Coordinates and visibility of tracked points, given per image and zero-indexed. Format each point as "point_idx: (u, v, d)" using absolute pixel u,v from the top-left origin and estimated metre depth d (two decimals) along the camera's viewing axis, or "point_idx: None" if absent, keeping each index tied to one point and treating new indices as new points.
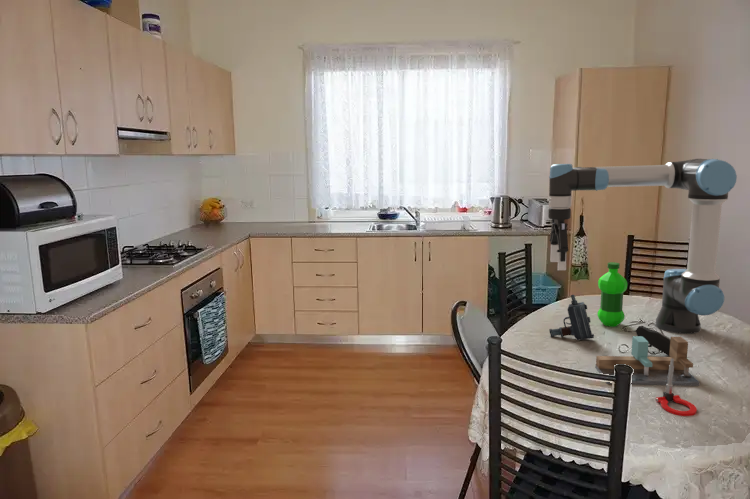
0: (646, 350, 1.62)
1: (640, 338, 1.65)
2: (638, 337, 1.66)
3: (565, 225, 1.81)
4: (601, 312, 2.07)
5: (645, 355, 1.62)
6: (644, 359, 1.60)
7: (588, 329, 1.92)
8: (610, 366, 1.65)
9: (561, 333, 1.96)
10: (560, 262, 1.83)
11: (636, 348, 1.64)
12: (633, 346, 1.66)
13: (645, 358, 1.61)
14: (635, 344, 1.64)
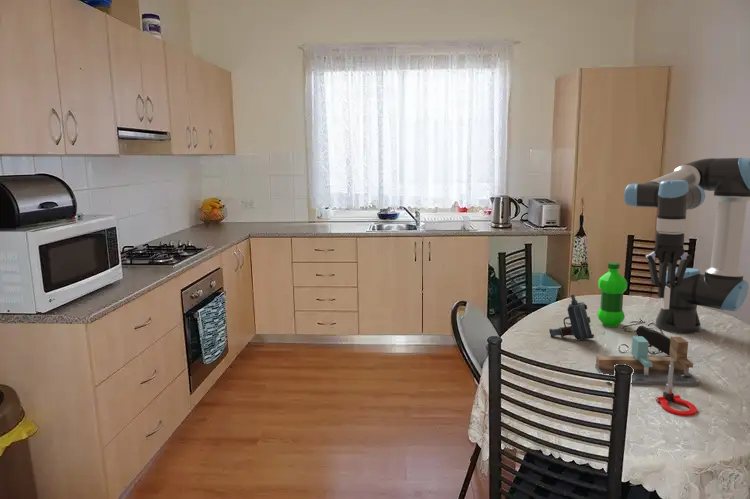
0: (646, 350, 1.62)
1: (640, 338, 1.65)
2: (638, 337, 1.66)
3: (647, 258, 1.59)
4: (601, 312, 2.07)
5: (645, 355, 1.62)
6: (644, 359, 1.60)
7: (588, 329, 1.92)
8: (610, 366, 1.65)
9: (561, 333, 1.96)
10: (661, 298, 1.62)
11: (636, 348, 1.64)
12: (633, 346, 1.66)
13: (645, 358, 1.61)
14: (635, 344, 1.64)
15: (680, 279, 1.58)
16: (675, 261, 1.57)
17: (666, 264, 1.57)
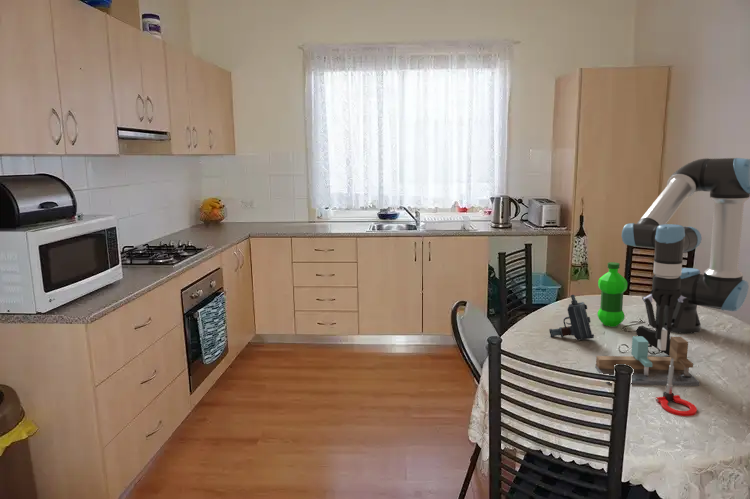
0: (646, 350, 1.62)
1: (640, 338, 1.65)
2: (638, 337, 1.66)
3: (644, 301, 1.61)
4: (601, 312, 2.07)
5: (645, 355, 1.62)
6: (644, 359, 1.60)
7: (588, 329, 1.92)
8: (610, 366, 1.65)
9: (561, 333, 1.96)
10: (658, 339, 1.64)
11: (636, 348, 1.64)
12: (633, 346, 1.66)
13: (645, 358, 1.61)
14: (635, 344, 1.64)
15: (677, 321, 1.61)
16: (672, 304, 1.59)
17: (663, 307, 1.60)
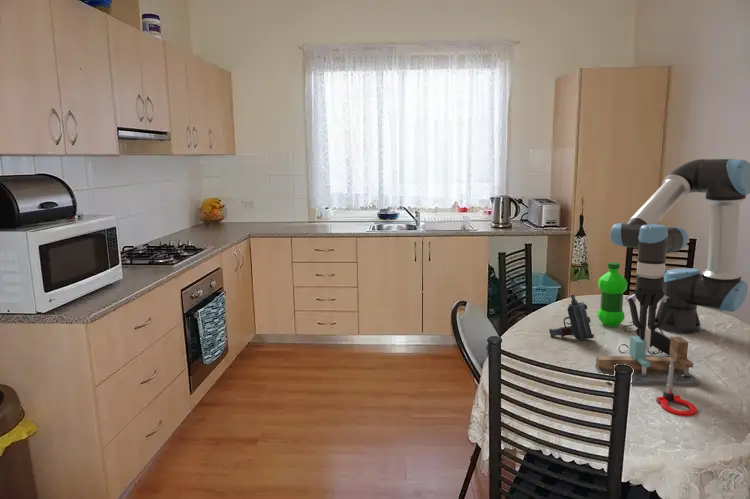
0: (644, 350, 1.62)
1: (638, 338, 1.65)
2: (636, 337, 1.66)
3: (628, 301, 1.62)
4: (601, 312, 2.07)
5: (643, 355, 1.63)
6: (642, 359, 1.61)
7: (588, 329, 1.92)
8: (610, 366, 1.65)
9: (561, 333, 1.96)
10: None
11: (634, 348, 1.64)
12: (631, 346, 1.66)
13: (643, 358, 1.61)
14: (633, 344, 1.64)
15: (660, 321, 1.61)
16: (655, 304, 1.60)
17: (646, 307, 1.60)
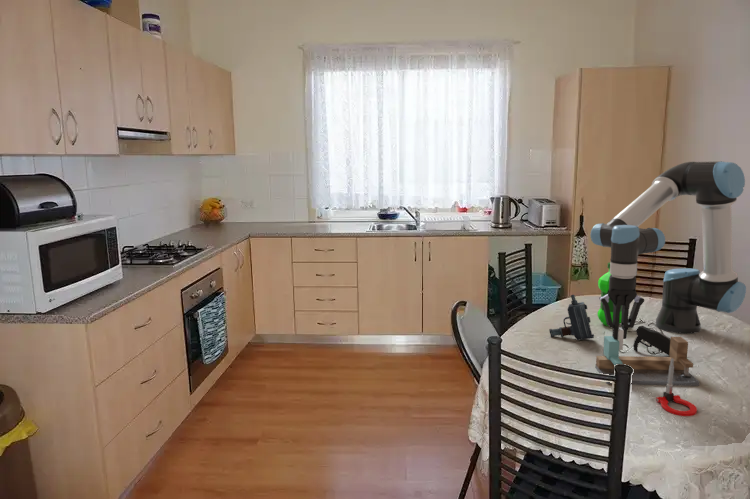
0: (617, 350, 1.63)
1: (612, 337, 1.66)
2: (610, 337, 1.67)
3: (601, 301, 1.63)
4: (601, 312, 2.07)
5: (616, 355, 1.63)
6: (615, 359, 1.61)
7: (588, 329, 1.92)
8: (610, 366, 1.65)
9: (561, 333, 1.96)
10: None
11: (607, 348, 1.65)
12: (605, 346, 1.67)
13: (616, 358, 1.62)
14: (606, 343, 1.65)
15: (633, 321, 1.62)
16: (628, 304, 1.61)
17: (619, 307, 1.61)
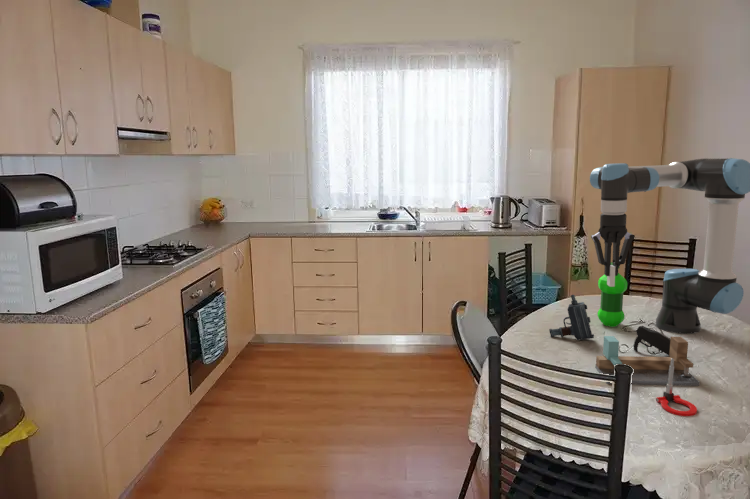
0: (617, 350, 1.63)
1: (612, 337, 1.66)
2: (609, 337, 1.67)
3: (593, 238, 1.67)
4: (601, 312, 2.07)
5: (616, 355, 1.64)
6: (614, 359, 1.61)
7: (588, 329, 1.92)
8: (610, 366, 1.65)
9: (561, 333, 1.96)
10: (608, 276, 1.70)
11: (607, 348, 1.65)
12: (604, 346, 1.67)
13: (615, 358, 1.62)
14: (606, 343, 1.65)
15: (624, 257, 1.67)
16: (619, 240, 1.65)
17: (610, 243, 1.66)
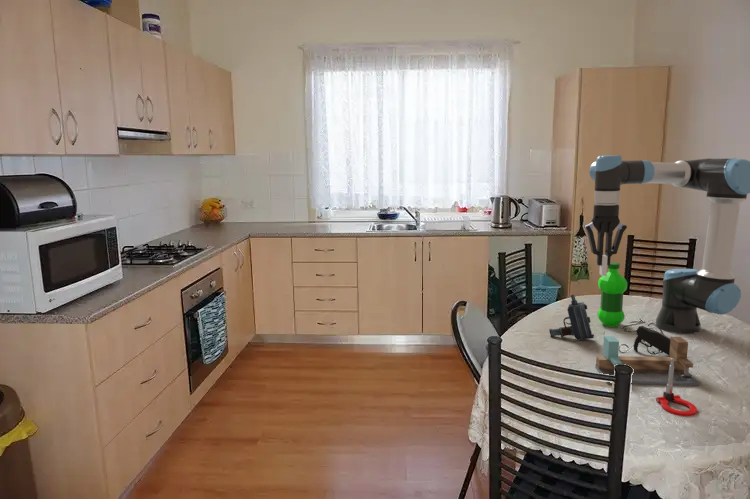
0: (617, 350, 1.63)
1: (612, 337, 1.66)
2: (609, 337, 1.67)
3: (586, 228, 1.71)
4: (601, 312, 2.07)
5: (616, 355, 1.64)
6: (614, 359, 1.61)
7: (588, 329, 1.92)
8: (610, 366, 1.65)
9: (561, 333, 1.96)
10: (600, 266, 1.74)
11: (607, 348, 1.65)
12: (604, 346, 1.67)
13: (615, 358, 1.62)
14: (606, 343, 1.65)
15: (616, 247, 1.70)
16: (611, 230, 1.69)
17: (603, 233, 1.70)
